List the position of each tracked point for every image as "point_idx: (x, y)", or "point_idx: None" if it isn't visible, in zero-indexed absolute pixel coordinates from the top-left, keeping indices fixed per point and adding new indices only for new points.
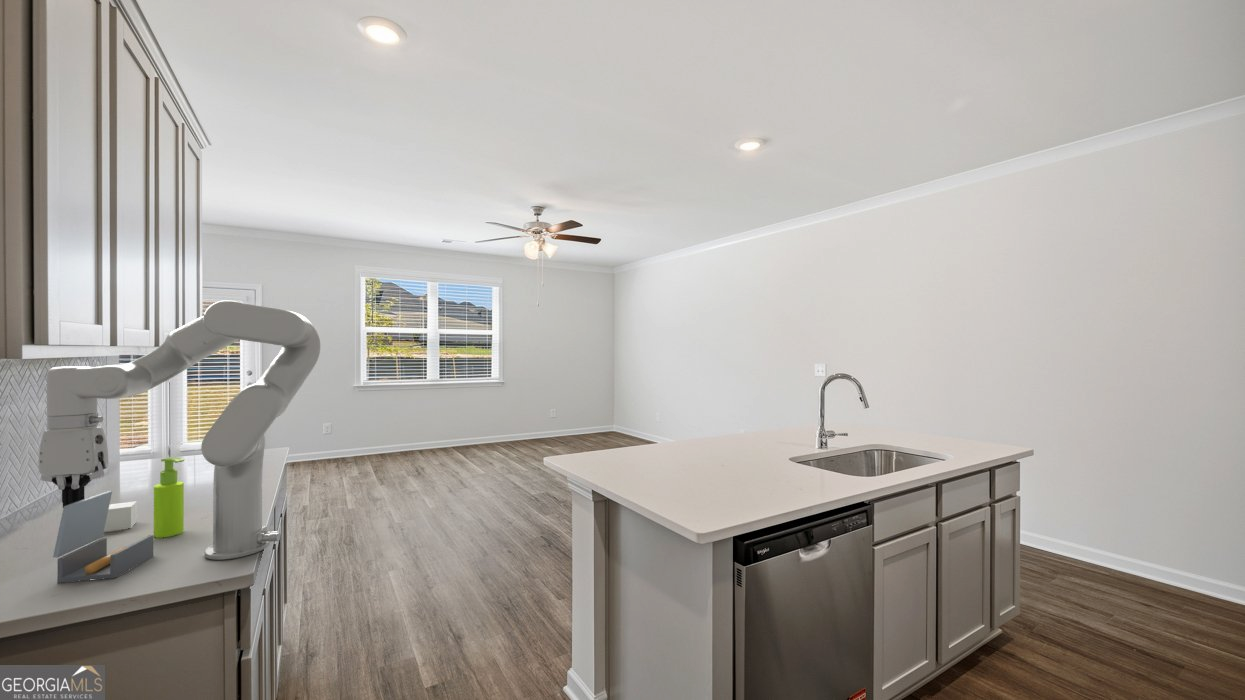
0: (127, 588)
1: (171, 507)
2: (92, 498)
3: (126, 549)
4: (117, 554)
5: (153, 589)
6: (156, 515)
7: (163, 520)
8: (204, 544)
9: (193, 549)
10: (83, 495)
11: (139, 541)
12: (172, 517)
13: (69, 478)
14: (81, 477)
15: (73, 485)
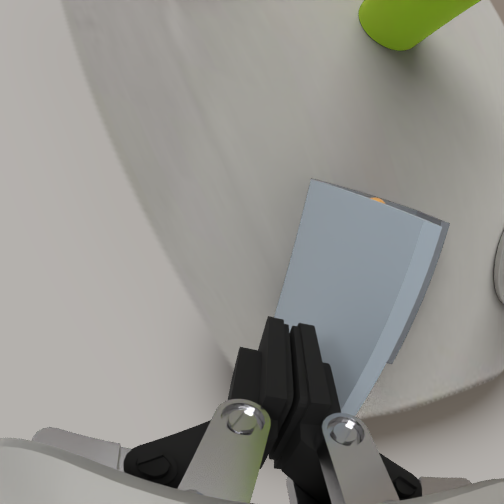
0: (398, 381)
1: (448, 20)
2: (373, 384)
3: (408, 328)
4: (395, 355)
5: (426, 392)
6: (398, 13)
7: (412, 31)
8: (489, 175)
9: (478, 203)
10: (330, 386)
11: (429, 276)
12: (433, 31)
13: (226, 477)
14: (334, 493)
15: (297, 484)
